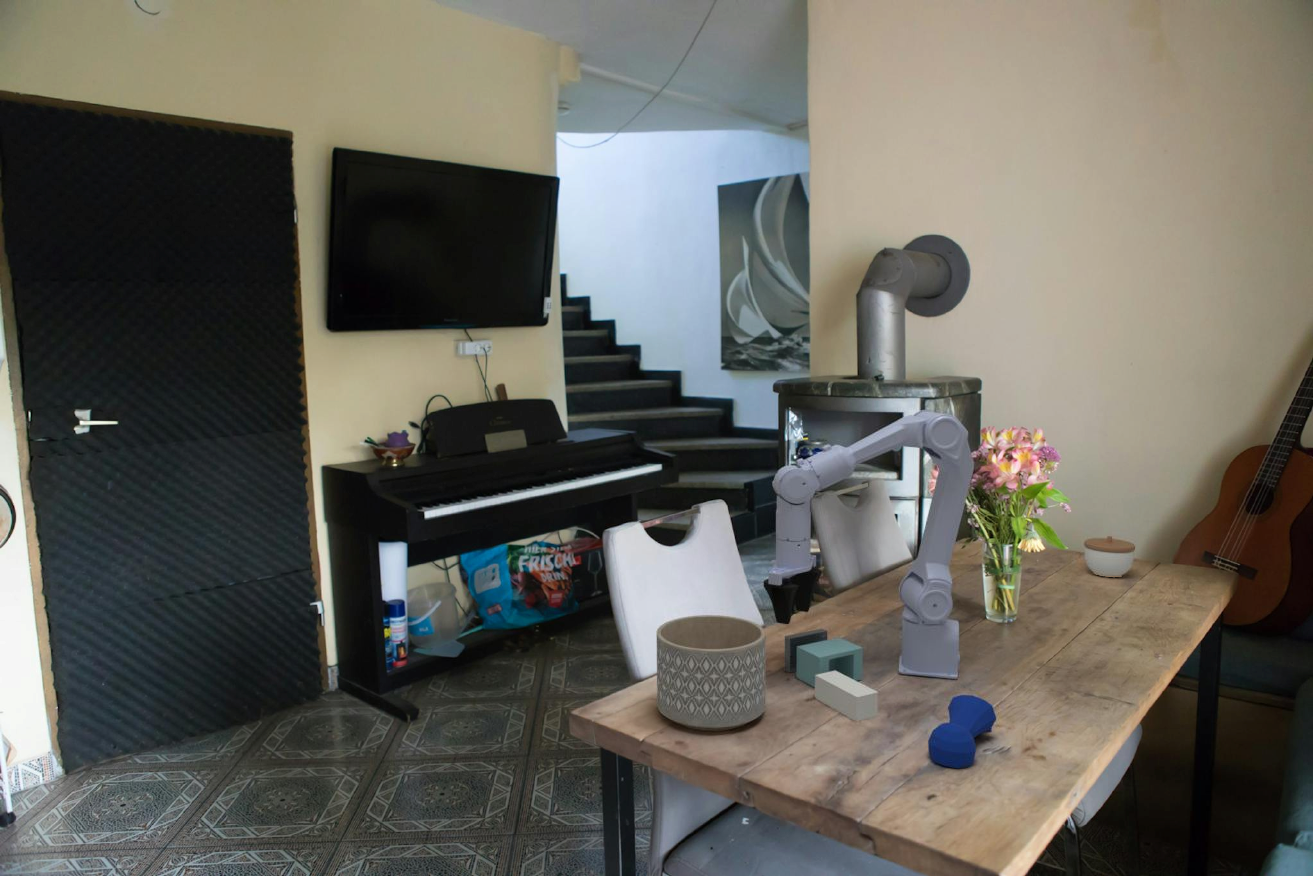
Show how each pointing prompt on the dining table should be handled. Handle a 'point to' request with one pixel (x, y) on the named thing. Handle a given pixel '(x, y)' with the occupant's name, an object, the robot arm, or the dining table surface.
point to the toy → (961, 731)
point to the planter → (711, 671)
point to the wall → (799, 640)
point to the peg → (846, 695)
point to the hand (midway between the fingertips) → (793, 616)
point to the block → (829, 659)
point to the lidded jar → (1109, 555)
